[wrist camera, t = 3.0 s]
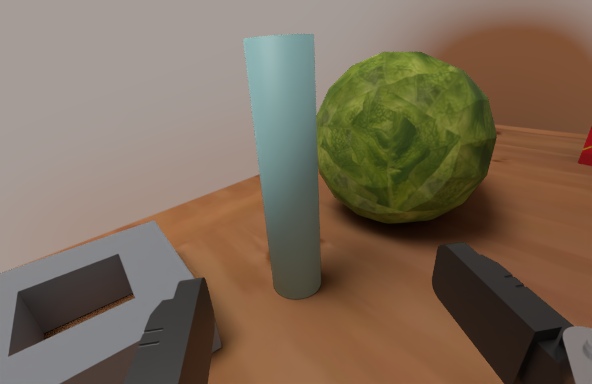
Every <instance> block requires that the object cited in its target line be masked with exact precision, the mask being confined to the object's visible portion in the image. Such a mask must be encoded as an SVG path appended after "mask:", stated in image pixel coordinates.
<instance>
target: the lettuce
mask: <svg viewBox="0 0 592 384" xmlns="http://www.w3.org/2000/svg"><path fill="white" fill-rule="evenodd" d="M316 124H317V157H318V168H319V173H320V175H321V176H322V178H323V179H324V181H325V182H326V184H327V186H328V187H329V189H330V190H331V192H332V194H333V195H334V197H335V198H337V199H338V200H339V201H341V202H342V203H343V204H344V205H346V206H347V207H348V208H350V209H351V210H352V211H353V212H355V213H356V214H357V215H361V216H364V217H367V218H370V219H373V220H376V221H380V222H383V223H407V222H417V221H427V220H433V219H435V218H437V217H439V216H441V215H443V214H445V213H446V212H448V211H450V210H452V209H454V208H456V207H458V206H460V205H462V204H463V203H464V202H465V201H466V200H467V199H468V197H469V196H470V195H471V194H472V192H473V191H474V190H475V189H476V188H477V186H478V185H479V184H480V183H481V182H482V180H483V179H484V178H485V177H486V175H487V173H488V169H489V165H490V161H491V157H492V153H493V149H494V145H495V142H496V138H497V137H496V130H495V125H494V121H493V117H492V113H491V109H490V105H489V101H488V97H487V96H486V95H485V94H484V93H483V92H482V91H481V89H480V88H479V87H478V86H477V85H476V84H475V83H474V81H473V80H472V79H471V78H470V77H469V76H468V75H467V73H465V71H464V70H461V69H459V68H457V67H454V66H452V65H450V64H447V63H445V62H443V61H440V60H438V59H436V58H434V57H431V56H429V55H426V54H424V53H422V52H383V53H380V54H378V55H376V56H373V57H371V58H369V59H367V60H364V61H362V62H360V63H357V64H355V65H353V66H352V67H350V68H349V70H347V72H345V73H344V74H343V75H342V76H341V77H340V78H339V79H338V80H337V81H336V82H335V83H334V85H332V86H331V87H330V89H329V90H328V92H327V94H326V97H325V99H324V101H323V103H322V105H321V107H320V110H319V112H318V114H317V116H316Z"/></svg>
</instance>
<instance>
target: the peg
mask: <svg viewBox="0 0 592 384" xmlns="http://www.w3.org/2000/svg"><path fill="white" fill-rule="evenodd" d="M243 42H244V50H245V59H246V67H247V74H248V82H249V91H250V98H251V107H252V115H253V123H254V132H255V140H256V148H257V156H258V164H259V172H260V180H261V188H262V196H263V205H264V213H265V221H266V229H267V237H268V245H269V253H270V261H271V270H272V278H273V285H274V289H275V290H276V292H277V293H278V294H280V295H281V296H283V297H285V298H289V299H303V298H307V297H309V296H311V295H313V294H314V293H316V292H317V291H318V289H319V288H320V285H321V257H320V224H319V190H318V157H317V124H316V91H315V58H314V35H313V34H291V35H274V36H261V37H252V38H246V39H243Z"/></svg>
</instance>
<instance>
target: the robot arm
mask: <svg viewBox="0 0 592 384" xmlns="http://www.w3.org/2000/svg"><path fill="white" fill-rule="evenodd" d="M432 285H433V289H434V292H435V294H436V296H437V297H438V299H439V300H440V301H441V303H442V304H443V305H444V306H445V308H446V309H447V310H448V312H449V313H450V314H451V315H452V317H453V318H454V319H455V321H456V322H457V323H458V325H459V326H460V327H461V328H462V330H463V331H464V332H465V334H466V335H467V336H468V337H469V339H470V340H471V341H472V343H473V344H474V345H475V346H476V348H477V349H478V350H479V352H480V353H481V354H482V355H483V357H484V358H485V359H486V361H487V362H488V363H489V365H490V366H491V367H492V368H493V370H494V371H495V372H496V374H497V375H498V376H499V377H500V379H501V380H502V381H503V383H504V384H592V329H591V328H587V327H581V326H573V325H572V324H571V323H569V322H568V321H567V320H566V319H565V318H563V317H562V316H561V315H560V314H559V313H557V312H556V311H555V310H554V309H553V308H551V307H550V306H549V305H548V304H547V303H546V302H544V301H543V300H542V299H541V298H540V297H538V296H537V295H536V294H535V293H534V292H532V291H531V290H530V289H529V288H528V287H524V284H523V283H522V282H520V281H519V280H518V279H517V278H516V277H513V276H512V274H511V273H510V272H508V271H507V270H506V269H505V268H504V267H502V266H501V265H500V264H499V263H497V262H495V261H493V260H491V259H489V258H487V257H485V256H483V255H479V254H478V253H477V252H475V251H474V250H473V249H472V248H471V247H470V246H469V245H467V244H466V243H464V242H459V243H452V244H444V245H440V246H439V247H438V250H437V255H436V260H435V266H434V271H433V276H432ZM214 331H215V318H214V311H213V307H212V303H211V299H210V295H209V291H208V287H207V283H206V280H205V278H204V277H203V278H195V279H188V280H181V281H179V283H178V285H177V288H176V291H175V294H174V297H173V299H167V300H162V301H161V303H160V304H159V305H158V306H157V307H156V308H155V310H154V311H153V312H152V313H151V314H150V317H149V319H148V322H147V324H146V327H145V329H144V334H142V337H141V340H140V342H139V347H138V348H137V350H136V352H135V355H134V357H133V360H132V363H131V365H130V368H129V370H128V373H127V375H126V378H125V380H124V383H123V384H208V376H209V369H210V361H211V354H212V346H213V339H214Z"/></svg>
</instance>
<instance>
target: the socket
mask: <svg viewBox="0 0 592 384" xmlns="http://www.w3.org/2000/svg"><path fill="white" fill-rule="evenodd" d="M188 279H194V277H193V276H192V274H191V273H190V271H189V270H188V268H187V267H186V266H185V264H184V263H183V261H182V260H181V258H180V257H179V255H178V254H177V252H176V251H175V250H174V248H173V247H172V245H171V244H170V242H169V241H168V239H167V238H166V236H165V235H164V234H163V232H162V231H161V229H160V228H159V226H158V225H157V223H156V222H155V220H153V221H150V222H147V223H145V224H142V225H139V226H136V227H133V228H130V229H127V230H124V231H121V232H118V233H115V234H113V235H110V236H107V237H104V238H101V239H98V240H95V241H92V242H89V243H86V244H84V245H81V246H78V247H75V248H72V249H69V250H66V251H63V252H60V253H57V254H54V255H52V256H49V257H46V258H43V259H40V260H37V261H34V262H31V263H28V264H25V265H23V266H20V267H17V268H14V269H11V270H8V271H5V272H2V273H0V384H123V383H124V380H125V378H126V375H127V373H128V370H129V368H130V365H131V363H132V360H133V357H134V355H135V352H136V350H137V348H138V347H139V342H140V340H141V337H142V334H144V329H145V327H146V324H147V322H148V319H149V317H150V314H151V313H152V312H153V311H154V310H155V308H156V307H157V306H158V305H159V304H160V303H161V301H162V300H167V299H173V297H174V294H175V291H176V288H177V285H178V283H179V281H181V280H188ZM132 293H133V294H134V297H135V298H134V299H132V300H129V301H127V302H125V303H123V304H121V305H119V306H117V307H114V308H112V309H110V310H108V311H106V312H104V313H102V314H99V315H97V316H95V317H93V318H91V319H89V320H86V321H84V322H82V323H80V324H78V325H76V326H74V327H71V328H69V329H67V330H65V331H63V332H61V333H59V334H56V335H54V336H52V337H50V338H48V339H46V340H44V333H46V332H48V331H51V330H53V329H55V328H57V327H59V326H62V325H64V324H66V323H68V322H70V321H73V320H75V319H77V318H79V317H81V316H84V315H86V314H88V313H90V312H92V311H94V310H97V309H99V308H101V307H103V306H105V305H108V304H110V303H112V302H114V301H116V300H119V299H121V298H123V297H125V296H127V295H130V294H132ZM214 318H215V317H214ZM221 347H222V345H221V341H220V337H219V333H218V329H217V325H216V321H215V331H214V339H213V346H212V353H213V352H214V351H216V350H218V349H219V348H221Z"/></svg>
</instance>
